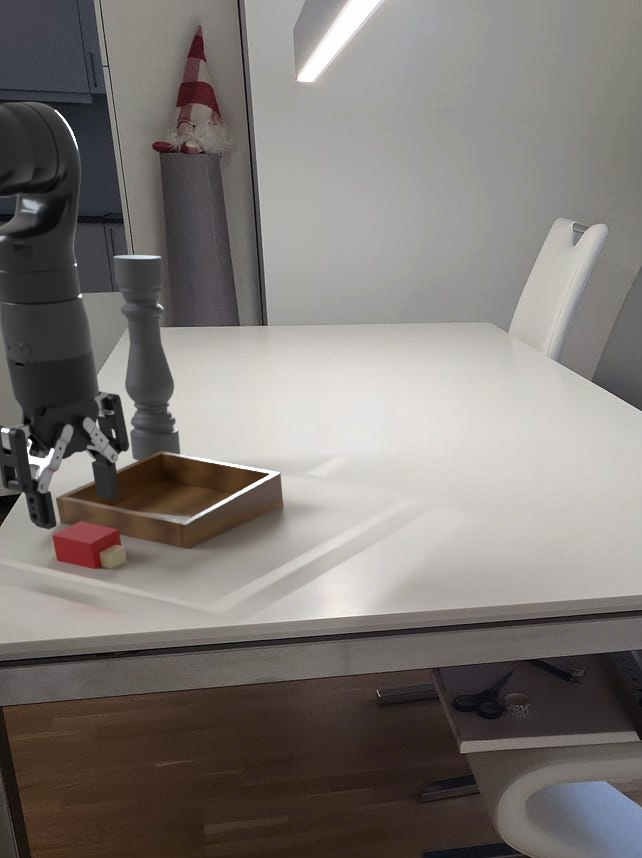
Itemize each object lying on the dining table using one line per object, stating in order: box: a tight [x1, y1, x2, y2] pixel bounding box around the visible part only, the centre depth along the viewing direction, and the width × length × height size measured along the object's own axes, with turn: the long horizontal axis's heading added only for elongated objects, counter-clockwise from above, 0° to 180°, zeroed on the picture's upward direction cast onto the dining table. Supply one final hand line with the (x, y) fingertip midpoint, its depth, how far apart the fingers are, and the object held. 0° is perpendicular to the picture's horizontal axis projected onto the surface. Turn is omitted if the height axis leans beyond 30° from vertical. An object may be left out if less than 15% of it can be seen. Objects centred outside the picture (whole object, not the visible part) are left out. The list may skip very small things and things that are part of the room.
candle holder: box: [112, 254, 181, 461], centre depth 134 cm, size 6×6×25 cm
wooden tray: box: [55, 451, 284, 550], centre depth 119 cm, size 18×18×4 cm
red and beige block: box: [50, 521, 128, 570], centre depth 106 cm, size 7×4×5 cm, turn 66°
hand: (77, 511), depth 103 cm, fingers open, 8 cm apart
